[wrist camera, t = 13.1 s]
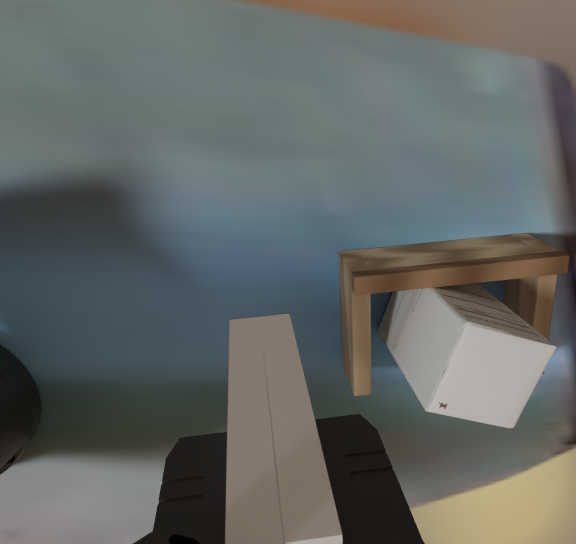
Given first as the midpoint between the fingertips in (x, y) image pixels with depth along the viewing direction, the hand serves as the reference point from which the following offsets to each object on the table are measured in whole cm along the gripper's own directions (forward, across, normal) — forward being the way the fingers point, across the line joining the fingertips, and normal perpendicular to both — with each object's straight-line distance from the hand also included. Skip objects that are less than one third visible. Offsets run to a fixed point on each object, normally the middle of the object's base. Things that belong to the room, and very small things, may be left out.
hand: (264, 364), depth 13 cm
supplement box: (+30, +16, -14) cm, 36 cm away
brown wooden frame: (+29, +16, -14) cm, 36 cm away
